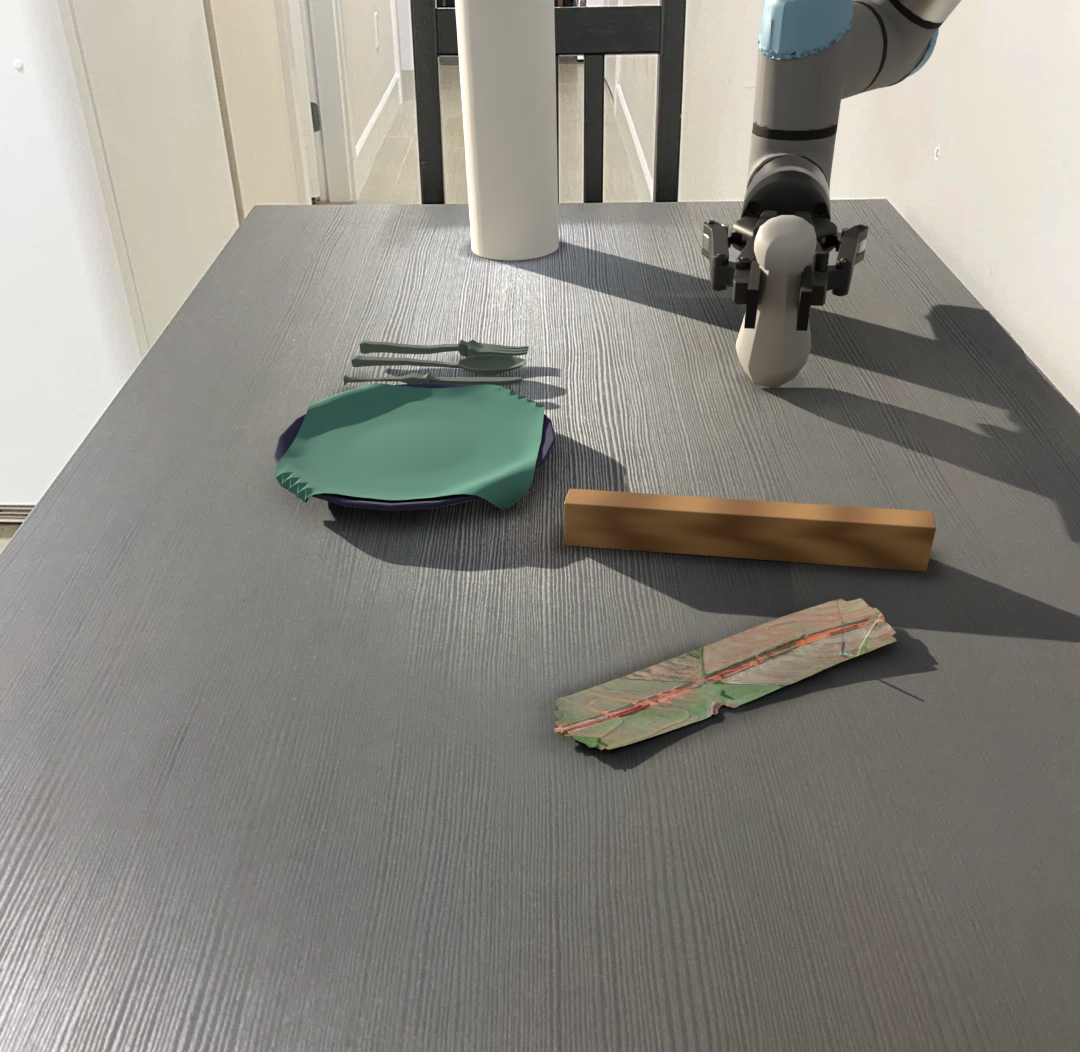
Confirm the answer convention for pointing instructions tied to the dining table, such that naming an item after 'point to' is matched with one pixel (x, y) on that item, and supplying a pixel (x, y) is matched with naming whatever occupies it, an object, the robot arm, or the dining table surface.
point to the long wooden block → (750, 529)
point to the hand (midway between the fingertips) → (777, 310)
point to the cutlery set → (419, 435)
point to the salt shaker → (778, 303)
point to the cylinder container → (509, 125)
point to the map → (721, 674)
